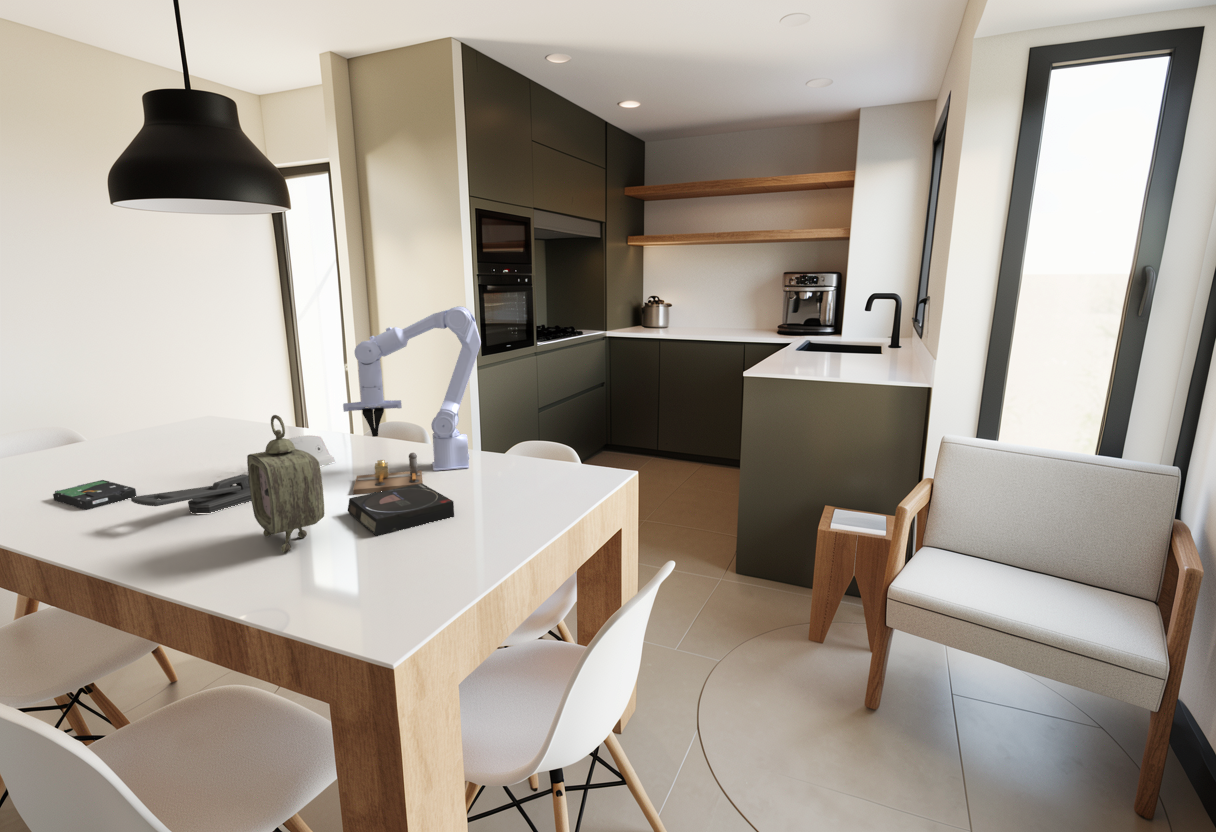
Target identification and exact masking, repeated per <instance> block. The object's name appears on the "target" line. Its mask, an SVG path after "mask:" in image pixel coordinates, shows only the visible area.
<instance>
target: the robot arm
mask: <svg viewBox="0 0 1216 832" xmlns="http://www.w3.org/2000/svg"><path fill="white" fill-rule="evenodd" d="M446 328H448V329H449V330H450V331H451V332H452V333H453V334H454V335H456V337H457V339H458V340H459V342H460V345H461V349H460V351H459V354H458V357H457V360H456V362H455V366H454V369H453V372H452V376H451V378H450V381H449V383H448V387H447V389H446V392H445V395H444V399H443V401H442V405H441V406H440V408H439V411H437V413H436V416H435V417H434V418H432V421H431V430H432V432H433V433H432V448H433V449H432V450H433V461H432V462H431V464H432V470H433V472H434V471H437V472H438V471H444V470H445V471H447V470H457V469H458V470H459V469H460V470H461V469H469V468H470V461H469V460H470V453H469V443H468V442H469V440H468V435H467V434H466V433H462V434H461V433H460V431H459V429H458V428H456V427H457V426H458V424H459V421H460V419H459V418H460V417H459V410H460V407H461V403H462V400H463V397H464V395H465V392H466V389H467V386H468V383H469V381H470V378H471V376H472V375H471V374H472V372H473V368H474V366H475V364H476V360H477V357H478V355H479V351H480V348H481V344H482V341H481V336H480V334H479V330H478V326H477V322H476V318H475V317H474V315H473V314H472V312H471V311H470V310H469V309H468V308H466V307H464V306H460V305H459V306H456V307H451V308H449V309H445V310H443V311H442V310H441V311H438V312H434V313H432V314H430V315H428V316H426V317H424V318H423V319H420V320H418V321H417V322H414V323H412V324H410V325H408V326H406V327H404V328H400V327H398V326H394V327H392V326H389V327H386V328H385V331H384V332H381V333H380V334H377V335H371V336H369V340H362V341H360V343H358V344H357V345H356V346H355V348H354V356H355V357H354V358H356V360H357V364H358V370H357V371H358V382H359V391H360V392H359V393H360V401H355V402H345V403H344V402H343V404H342V408H343V409H342V410H343V412H348V411H349V412H351V411H352V412H353V411H362V416H363V417H364V419H365V421H366V422H367V425H368V426H369V428H370V429H369V430H370V432H371V436H372V437H373V438H374V437H378V436H379V427H380V424H381V421H382V417H383V415H384V411H385V410H388V409H402V406H403V405H402V400H400V399H399V400H397V399H395V400H389V399H387V400H385V397H384V387H383V386H384V385H383V371H382V366H381V358H382V357H387V356H389V355H391V354H393V353H395V352H398V351H400V350H402V349H405V348H406V347H407V345H408V342H409V340H410V339H413V338H415V337H417V336H420V335H422V334H424V333H426V332H429V331H431V330H433V329H440V330H441V329H443V330H444V329H446Z"/></svg>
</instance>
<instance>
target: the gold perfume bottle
mask: <svg viewBox="0 0 1216 832" xmlns="http://www.w3.org/2000/svg"><path fill="white" fill-rule="evenodd" d="M389 473H390V472H389V462H386V461H385V459H379V460H377V461H376V462H375V464H374V474H375V478H380V479H379V482H383V478H385V477H388V475H389Z"/></svg>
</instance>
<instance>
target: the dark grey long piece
mask: <svg viewBox="0 0 1216 832" xmlns="http://www.w3.org/2000/svg"><path fill="white" fill-rule="evenodd" d="M185 501H187V505H188V506H187V507H188V511H189V510H190V511H189V513H190V512H192V513H211V512H215V511H218V510H221V509H224V508H228V507H231V506H235V505H238V504H241V503H244V504H247V503H246V502H248V503H250V502H249V501H251V502H252V500H251V493H250V486H249V477H248V474H244V473H243V474H242V473H241V474H239V475H235V476H231V477H227V478H224V479H221V480H219V481H216V482H214V483H213V484H212V485H207V486H201V487H195V488H188V489H187V488H186V489H180V490H179V489H178V490H173V491H166V492H159V493H151V494H145V495H144V494H143V495H138V496H136V497H132V498H131V499H130V502H132V503H134V504H137V505H142V506H147V507H148V506H149V507H161V506H165V505H170V504H175V503H179V502H180V503H181V502H185ZM241 505H242V504H241ZM238 506H239V505H238ZM235 507H236V506H235ZM231 508H232V507H231ZM228 509H229V508H228ZM218 512H219V511H218ZM215 513H216V512H215Z"/></svg>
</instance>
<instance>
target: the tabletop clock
mask: <svg viewBox="0 0 1216 832" xmlns="http://www.w3.org/2000/svg"><path fill="white" fill-rule="evenodd" d="M275 419H276V420H277V421H278V422H279V424H280V427H281V429H282V430H281V429H276V428H275V422H274V421H275ZM270 426H271V430H272V434H273V435H274V436H275V439H272V440H269V442H268V443H267V445H266V447H265V449H264V451H262V452H261V451H260V452H256V453H250V454H248V455H246V456H247V457H246V458H247V460H246V461H247V463H246V464H247V475H248V477H249V486H250V493H251V500H252V501H251V505H252V506H251V507H252V510H253V515H254V518H255V520H256V522H257V523H258V525H259V526H260V527H261V528H262V529H263V536H265V537H271V536H274V535H277V534H281V533H285V538H284V539H285V541H284V543H283V545H282V544H281V547H280V551H281V552H282V553H284V554H286V553H288V552H290V551H291V548H292V547H291V545H290V544H289V541H290V538H291V535H292V533H293V531H294V530H297V529H298V533H297V536H298V537H299V538H300V539H305V538H306V536H308V532H307V531H306V530H305V529H303V528H304V527H305V528H307V527H310V526H314V525H317V524H318V522H319V521H320V520H322V519H323V518H324V517H325V499H324V487H323V478H322V471H321V467H320V465H319V462H318V460H317V459H316V458H315V457H314V456H312V455H311V454H309V453H307V452H305V451H302V450H299V449H295V446H294V444H293V443H292V441H290V440H289V439H290V438H285V434H286V428H285V423H284V420H283V419H282V417H280V415H277V414H273V415H271V417H270Z"/></svg>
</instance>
